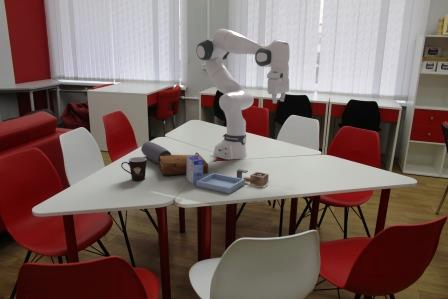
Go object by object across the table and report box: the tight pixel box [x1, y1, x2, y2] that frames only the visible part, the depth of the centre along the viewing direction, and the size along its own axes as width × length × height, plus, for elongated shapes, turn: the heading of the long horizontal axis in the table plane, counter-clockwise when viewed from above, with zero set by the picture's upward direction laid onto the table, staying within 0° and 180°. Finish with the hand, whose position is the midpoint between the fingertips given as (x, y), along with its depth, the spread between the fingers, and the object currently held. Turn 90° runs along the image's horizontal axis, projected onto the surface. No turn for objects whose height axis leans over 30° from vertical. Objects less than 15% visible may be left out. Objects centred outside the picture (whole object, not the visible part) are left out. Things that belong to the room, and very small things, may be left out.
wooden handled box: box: [236, 168, 269, 189], centre depth 187 cm, size 18×9×5 cm, turn 59°
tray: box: [195, 172, 246, 195], centre depth 181 cm, size 18×15×3 cm
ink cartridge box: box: [185, 152, 204, 186], centre depth 186 cm, size 10×6×14 cm, turn 26°
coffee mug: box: [120, 156, 148, 182], centre depth 189 cm, size 12×9×10 cm
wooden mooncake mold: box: [242, 171, 269, 186], centre depth 186 cm, size 12×7×4 cm, turn 59°
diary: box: [157, 154, 209, 176], centre depth 202 cm, size 23×19×6 cm
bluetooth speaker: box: [141, 141, 172, 164], centre depth 217 cm, size 23×9×10 cm, turn 35°
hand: (278, 102), depth 192 cm, fingers open, 8 cm apart
